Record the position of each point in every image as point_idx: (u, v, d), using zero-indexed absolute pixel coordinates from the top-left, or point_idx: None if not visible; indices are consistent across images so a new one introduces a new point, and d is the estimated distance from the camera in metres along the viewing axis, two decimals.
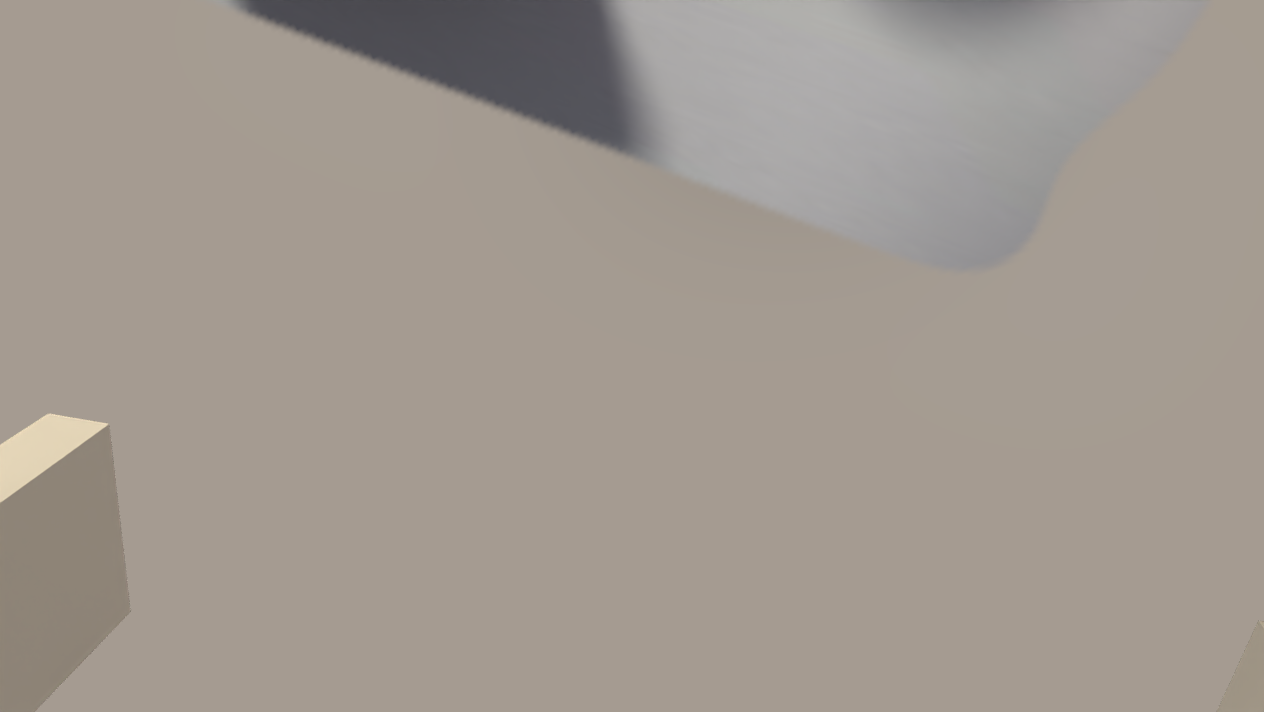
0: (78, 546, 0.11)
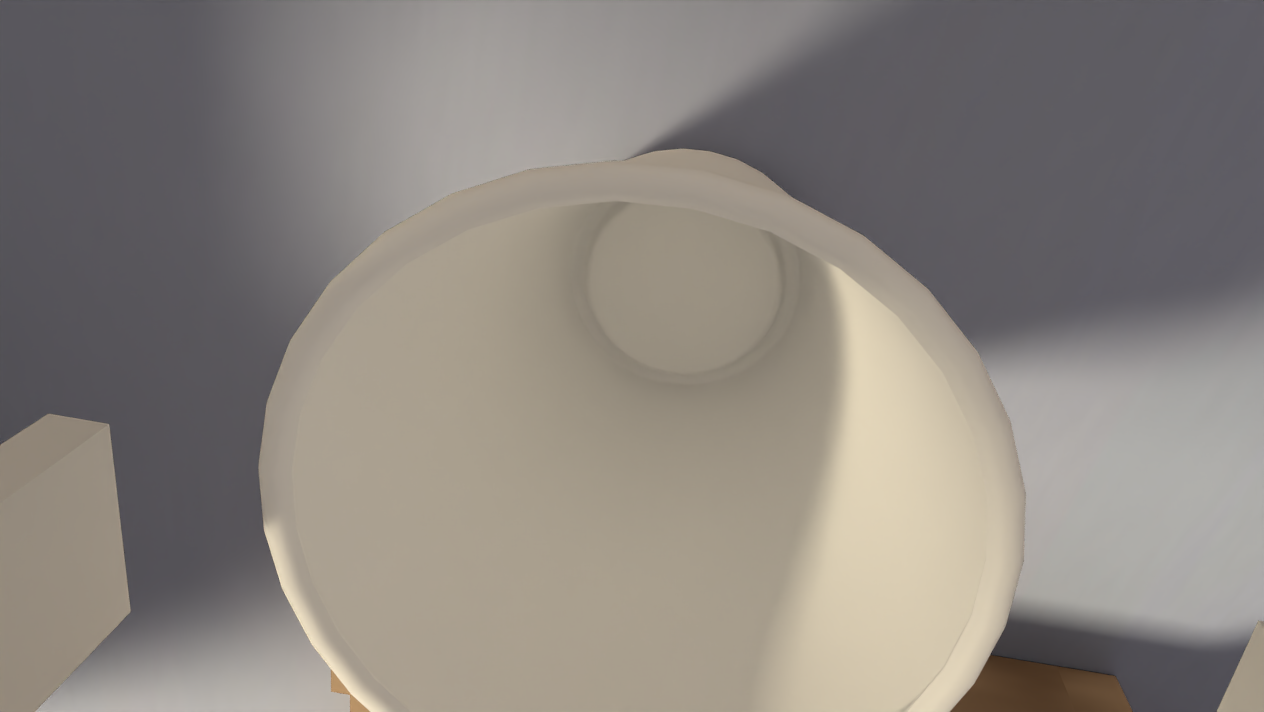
0: (78, 546, 0.11)
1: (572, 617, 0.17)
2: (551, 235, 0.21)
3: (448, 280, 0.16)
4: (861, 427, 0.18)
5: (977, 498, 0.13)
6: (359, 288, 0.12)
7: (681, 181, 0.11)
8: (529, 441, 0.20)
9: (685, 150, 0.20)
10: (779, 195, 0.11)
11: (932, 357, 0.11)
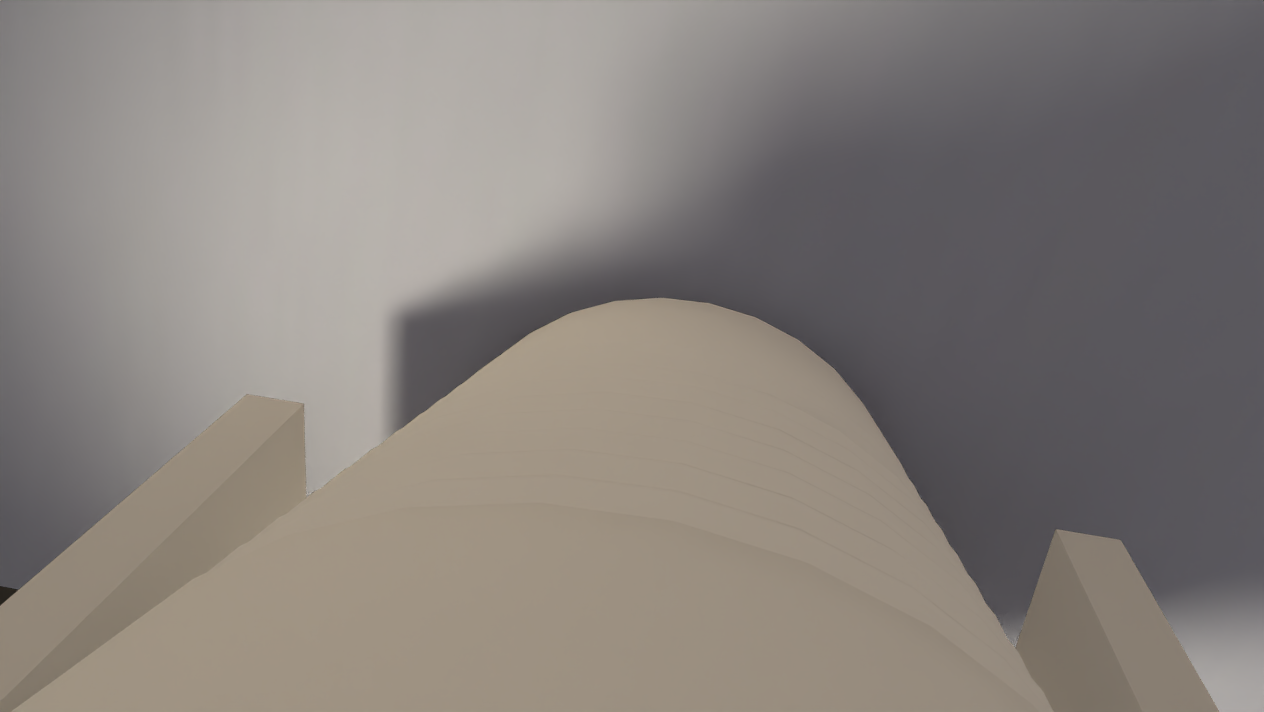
0: (279, 516, 0.12)
1: None
2: None
3: None
4: None
5: None
6: None
7: None
8: None
9: (664, 312, 0.11)
10: None
11: None
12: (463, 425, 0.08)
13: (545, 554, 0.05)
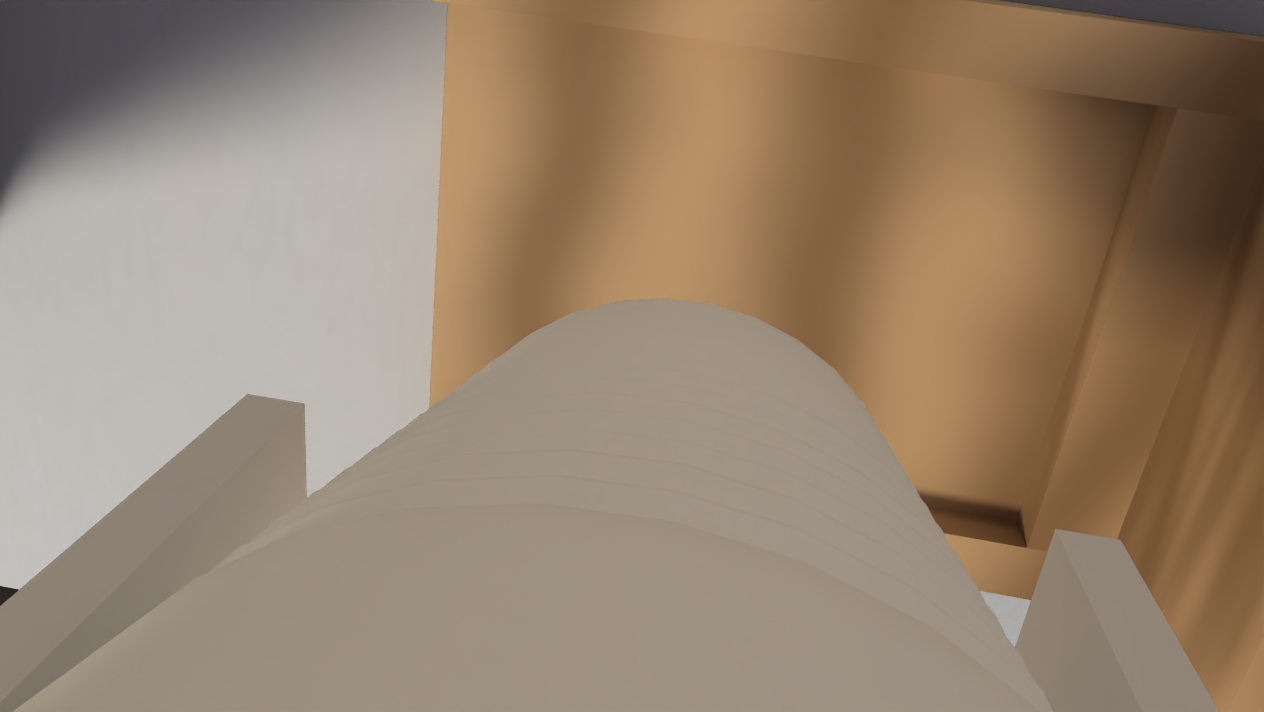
0: (279, 516, 0.12)
1: None
2: None
3: None
4: None
5: None
6: None
7: None
8: None
9: (665, 312, 0.11)
10: None
11: None
12: (464, 425, 0.08)
13: (546, 554, 0.05)
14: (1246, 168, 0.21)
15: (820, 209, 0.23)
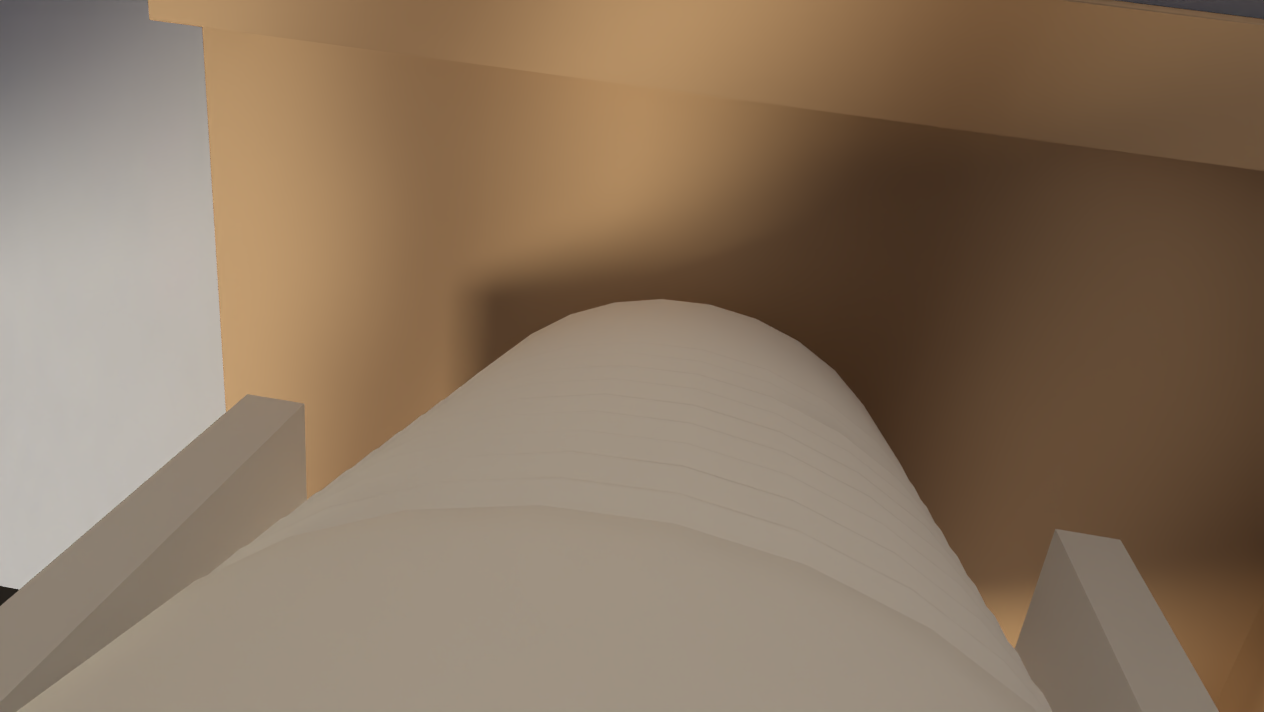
0: (279, 516, 0.12)
1: None
2: None
3: None
4: None
5: None
6: None
7: None
8: None
9: (665, 313, 0.11)
10: None
11: None
12: (464, 427, 0.08)
13: (546, 557, 0.05)
14: None
15: (847, 361, 0.14)
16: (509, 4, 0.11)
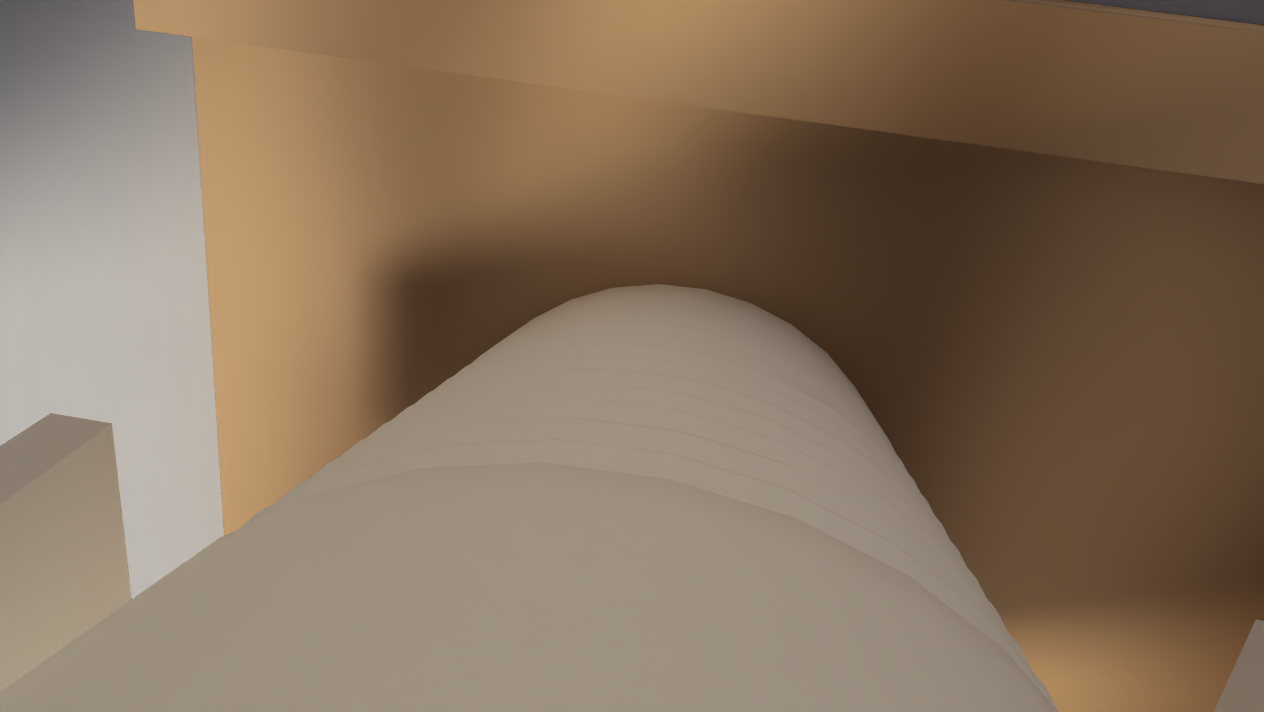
0: (81, 545, 0.11)
1: None
2: None
3: None
4: None
5: None
6: None
7: None
8: None
9: (662, 297, 0.12)
10: None
11: None
12: (471, 399, 0.08)
13: (551, 505, 0.06)
14: None
15: (856, 381, 0.13)
16: (507, 13, 0.11)
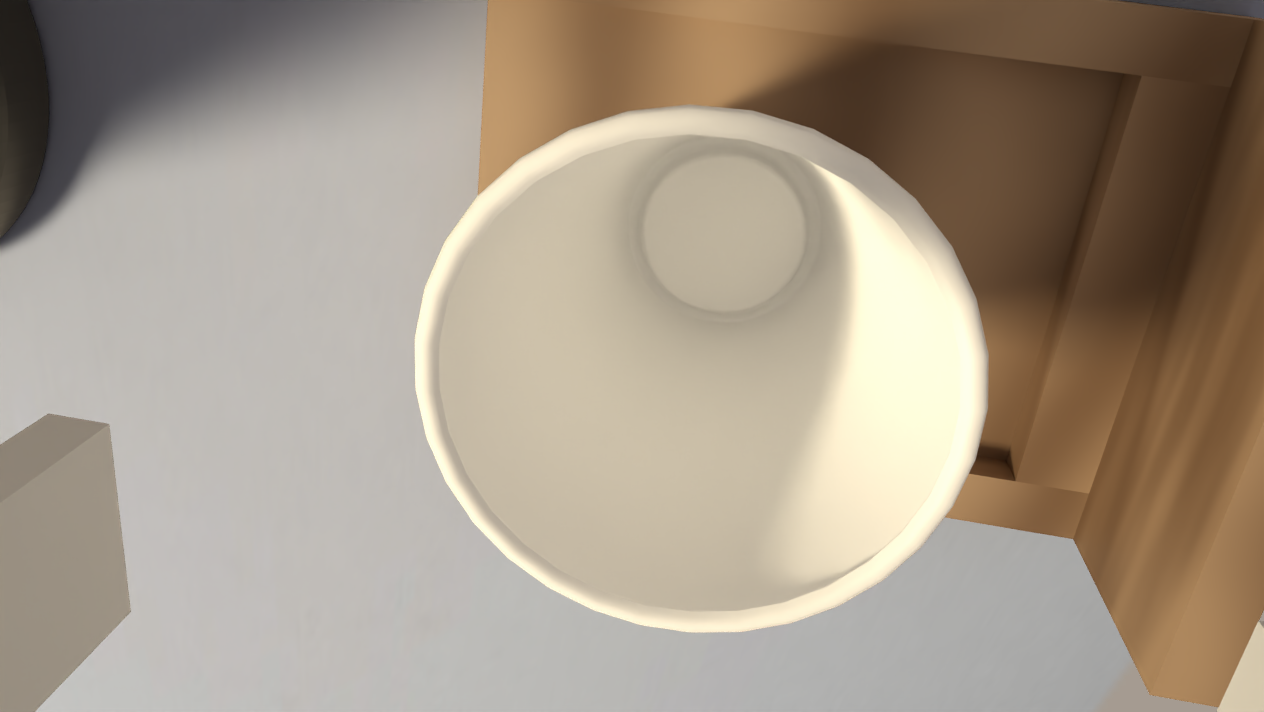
0: (78, 546, 0.11)
1: (636, 488, 0.22)
2: (615, 190, 0.25)
3: (544, 213, 0.20)
4: (870, 339, 0.22)
5: (955, 367, 0.17)
6: (500, 199, 0.16)
7: (738, 118, 0.15)
8: (597, 357, 0.24)
9: None
10: (808, 129, 0.15)
11: (918, 250, 0.15)
12: None
13: None
14: (1204, 128, 0.23)
15: None
16: None
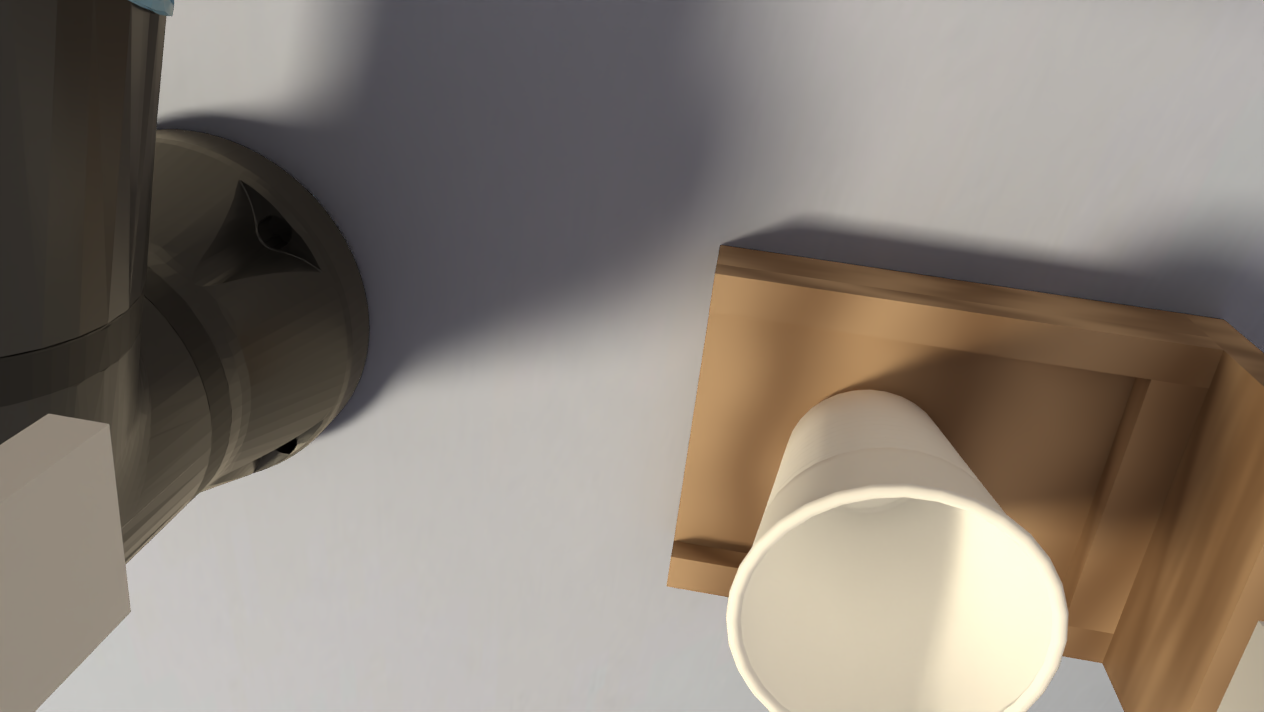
0: (78, 546, 0.11)
1: (830, 654, 0.34)
2: None
3: None
4: (978, 558, 0.34)
5: (1046, 610, 0.29)
6: (792, 525, 0.28)
7: (934, 493, 0.27)
8: (790, 556, 0.36)
9: (875, 396, 0.37)
10: (972, 499, 0.27)
11: (1031, 559, 0.28)
12: (851, 432, 0.33)
13: (899, 454, 0.30)
14: (1191, 412, 0.35)
15: (935, 421, 0.38)
16: (833, 312, 0.36)
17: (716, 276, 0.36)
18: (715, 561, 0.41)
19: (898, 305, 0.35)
